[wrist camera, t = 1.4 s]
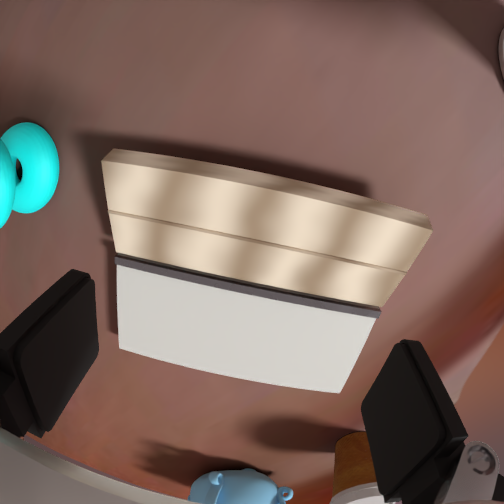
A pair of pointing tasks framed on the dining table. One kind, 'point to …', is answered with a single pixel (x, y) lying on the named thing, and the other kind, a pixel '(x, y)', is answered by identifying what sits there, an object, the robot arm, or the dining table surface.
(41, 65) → the dining table surface
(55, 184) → the donuts
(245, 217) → the plank
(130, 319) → the board
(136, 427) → the dining table surface
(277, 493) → the decorative pot
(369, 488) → the glass of beer
